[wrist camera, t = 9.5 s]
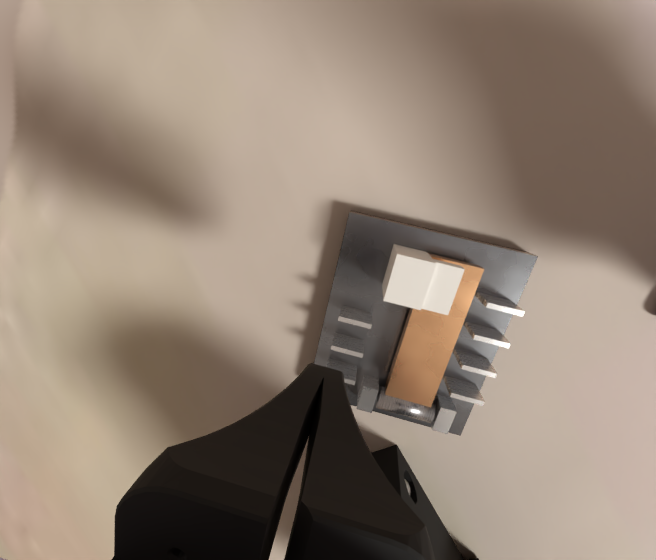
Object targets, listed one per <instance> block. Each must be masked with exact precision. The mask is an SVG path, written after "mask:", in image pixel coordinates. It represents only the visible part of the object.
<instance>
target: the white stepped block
mask: <svg viewBox="0 0 656 560" xmlns="http://www.w3.org/2000/svg"><path fill="white" fill-rule="evenodd" d="M464 270H465V269H464V268H463V267H462V266H460V265H456V264H452V263H448V262H444V261H440V260H436V259H432V257H431V256H430V255H429V254H428V253H427V252H425V251H421V250H417V249H413V248H409V247H404V246H400V245H396V244H394V245H393V248H392V252H391V255H390V259H389V262H388V266H387V269H386V273H385V276H384V280H383V283H382V289H383V301H386V302H390V303H394V304H398V305H402V306H406V307H410V308H413V309H417V310H421V309H425V310H429V311H433V312H437V313H441V314H444V315H448V314H449V311H450V309H451V306H452V303H453V300H454V298H455V295H456V292H457V289H458V287H459V284H460V281H461V278H462V276H463V273H464Z"/></svg>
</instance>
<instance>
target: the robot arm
mask: <svg viewBox="0 0 656 560" xmlns="http://www.w3.org/2000/svg"><path fill="white" fill-rule="evenodd" d="M308 437H309V440H308ZM307 440H308V446H307V453H306V459H305V465H304V472H303V478H302V484H301V490H300V496H299V501H298V506H297V510H296V514H295V518H294V522H293V526H292V530H291V534H290V539H289V543H288V547H287V551H286V555H285V559H284V560H435V556H434V552H433V549H432V545H431V542H430V538H429V535H428V531H427V528H426V526H425V524H424V523H423V522H422V521H421V520H420V518H419V517H418V516H417V515H416V514H415V513H414V512H413V510H412V509H411V508H410V507H409V506H408V505H407V504H406V502H405V501H404V500H403V499H402V498H401V497H400V495H399V494H398V493H397V491H396V490H395V489H394V487H393V486H392V485H391V483H390V482H389V481H388V479H387V478H386V476H385V475H384V473H383V472H382V470H381V469H380V467H379V466H378V464H377V462H376V461H375V459H374V457H373V456H372V454H371V452H370V450H369V448H368V446H367V444H366V442H365V440H364V438H363V436H362V434H361V432H360V430H359V427H358V425H357V422H356V420H355V417H354V414H353V412H352V409H351V405H350V402H349V399H348V395H347V391H346V387H345V382H344V374H343V373H342V371H339V370H335V369H331V368H328V367H324V366H320V365H317V364H313V363H311V364H309V365H308V366H307V367H306V368H305V370H304V371H303V372H302V373H301V374H300V375H299V376H298V377H297V378H296V379H295V380H294V381H293V382H292V383H291V384H290V385H289V386H288V387H287V388H286V389H284V390H283V391H282V392H281V393H280V394H278V395H277V396H276V397H274V398H273V399H272V400H271V401H269V402H268V403H267V404H265V405H264V406H262V407H261V408H259V409H258V410H256V411H255V412H253V413H251V414H250V415H248V416H246V417H244V418H243V419H241V420H239V421H237V422H235V423H233V424H231V425H229V426H227V427H225V428H223V429H220V430H218V431H216V432H213V433H211V434H208V435H206V436H203V437H200V438H197V439H194V440H191V441H188V442H184V443H181V444H178V445H174V446H171V447H168V448H167V449H166V450H165V451H164V452H163V453H162V454H161V455H159V456H158V457H157V458H156V459H155V460H154V461H153V462H152V463H151V464H150V465H149V466H148V467H147V468H146V469H145V471H144V472H143V473H142V474H141V475H140V477H139V478H138V479H137V480H136V481H135V483H134V484H133V485H132V486H131V488H130V489H129V490H128V491H127V493H126V494H125V495H124V496H123V498H122V499H121V501H120V502H119V504H118V505H117V509H116V514H115V551H114V557H113V559H112V560H269V556H270V552H271V549H272V545H273V542H274V538H275V535H276V531H277V527H278V524H279V520H280V517H281V513H282V510H283V506H284V503H285V499H286V496H287V493H288V490H289V488H290V485H291V482H292V480H293V477H294V474H295V472H296V469H297V466H298V464H299V461H300V458H301V456H302V453H303V450H304V448H305V445H306V442H307ZM0 560H6V559H3V558H0Z"/></svg>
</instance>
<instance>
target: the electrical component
mask: <svg viewBox="0 0 656 560" xmlns="http://www.w3.org/2000/svg"><path fill="white" fill-rule="evenodd" d="M371 454H372V456H373V457H374V459H375V461H376V462H377V464H378V466H379V467H380V469H381V470H382V472H383V473H384V475H385V476H386V478H387V479H388V481H389V482H390V483H391V485H392V486H393V487H394V489H395V490H396V491H397V493H398V494H399V495H400V497H401V498H402V499H403V500H404V501H405V502H406V504H407V505H408V506H409V507H410V508H411V509H412V510H413V512H414V513H415V514H416V515H417V516H418V517H419V518H420V520H421V521H422V522H423V523H424V524H425V526H426V528H427V531H428V535H429V538H430V542H431V545H432V549H433V552H434V556H435V560H464V559H463V557H462V556H461V554H460V552H459V550H458V549H457V547H456V545H455V544H454V542H453V540H452V538H451V537H450V535H449V533H448V532H447V530H446V528H445V526H444V525H443V523H442V521H441V520H440V518H439V516H438V514H437V513H436V511H435V509H434V508H433V506H432V504H431V502H430V501H429V499H428V497H427V496H426V494H425V492H424V491H423V489H422V487H421V485H420V484H419V482H418V480H417V479H416V477H415V475H414V473H413V472H412V470H411V468H410V467H409V465H408V463H407V461H406V460H405V458H404V456H403V455H402V453H401V451H400V449H399V448H398V446H397V445H394V446H391V447H388V448H385V449H382V450H379V451H376V452H373V453H371ZM472 560H479V559H478V558H477V559H472Z"/></svg>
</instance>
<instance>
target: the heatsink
mask: <svg viewBox="0 0 656 560" xmlns="http://www.w3.org/2000/svg"><path fill="white" fill-rule="evenodd" d="M394 244H396V245H400V246H404V247H409V248H413V249H417V250H421V251H425V252H427V253H430V254H434V255H438V256H442V257H446V258H451V259H455V260H459V261H463V262H467V263H471V264H476V265H480V266H481V267H482V268H484V271H483V274H482V277H481V279H480V282H479V284H478V287H477V290H476V292H475V295H474V297H473V300H472V302H471V305H470V308H469V310H468V313H467V315H466V318H465V321H464V323H463V326H462V328H461V331H460V333H459V336H458V339H457V341H456V344H455V346H454V349H453V352H452V354H451V357H450V359H449V362H448V365H447V367H446V370H445V372H444V375H443V377H442V380H441V383H440V385H439V388H438V390H437V393H436V396H435V398H434V402H435V406H436V410H435V416H434V419H433V421H432V422H431V423H429V422H425V421H421V420H418V419H414V418H411V417H407V416H404V415H400V414H396V413H393V412H389V411H386V410H382V409H379V408H376V407H375V402H376V397H377V394H378V391H379V387H380V386H382V387H385V384H386V381H387V378H388V375H389V372H390V369H391V366H392V363H393V360H394V357H395V353H396V350H397V347H398V344H399V341H400V338H401V335H402V332H403V329H404V326H405V323H406V319H407V316H408V313H409V310H410V307H406V306H402V305H398V304H394V303H390V302H386V301H383V289H382V283H383V280H384V276H385V273H386V269H387V266H388V262H389V259H390V255H391V252H392V248H393V245H394ZM537 257H538V256H535V255H533V254H531V253H528V252H524V251H520V250H516V249H511V248H507V247H503V246H499V245H494V244H490V243H486V242H481V241H477V240H473V239H469V238H464V237H460V236H456V235H452V234H447V233H443V232H439V231H435V230H430V229H426V228H422V227H418V226H413V225H409V224H405V223H401V222H396V221H392V220H388V219H384V218H379V217H375V216H371V215H367V214H362V213H358V212H354V211H350V212H349V216H348V221H347V225H346V229H345V233H344V238H343V242H342V246H341V250H340V255H339V259H338V263H337V268H336V272H335V276H334V280H333V285H332V289H331V293H330V297H329V302H328V306H327V310H326V315H325V319H324V323H323V327H322V332H321V336H320V340H319V344H318V349H317V353H316V357H315V362H314V364H317V365H320V366H324V367H328V368H331V369H335V370H339V371H342V373H343V374H344V382H345V387H346V391H347V395H348V399H349V402H350V405H353V406H357V409H359V410H363V411H367V412H370V413H372V411H375V412H378V413H382V414H386V415H389V416H393V417H396V418H400V419H403V420H407V421H410V422H414V423H418V424H421V425H425V426H428V427H431V428H432V430H434V431H438V432H441V433H445V434H448V432H450V433H453V434H457V435H461V433H462V431H463V428H464V426H465V424H466V421H467V419H468V417H469V414H470V412H471V410H472V407H473V405H474V404H478V405H481V406H483V405H484V403H485V401H484V399H483V397H482V395H481V393H480V389H481V387H482V384H483V382H484V380H485V377H486V376H489V377H493V378H496V376H497V373H496V371H495V369H494V368H493V366H492V365H491V364H492V361H493V359H494V357H495V354H496V352H497V350H498V347H499V346H501V347H505V348H509V347H510V342H509V341H508V340H507V339H506V338H505V337H504V334H505V331H506V329H507V327H508V324H509V322H510V320H511V317H512V315H513V314H514V315H518V316H522V317H523V315H524V313H525V311H523V310H522V309H521V308H520V307H519V306H517V304H518V301H519V299H520V297H521V294H522V292H523V290H524V287H525V285H526V283H527V281H528V278H529V276H530V274H531V271H532V269H533V267H534V264H535V262H536V260H537Z"/></svg>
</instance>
